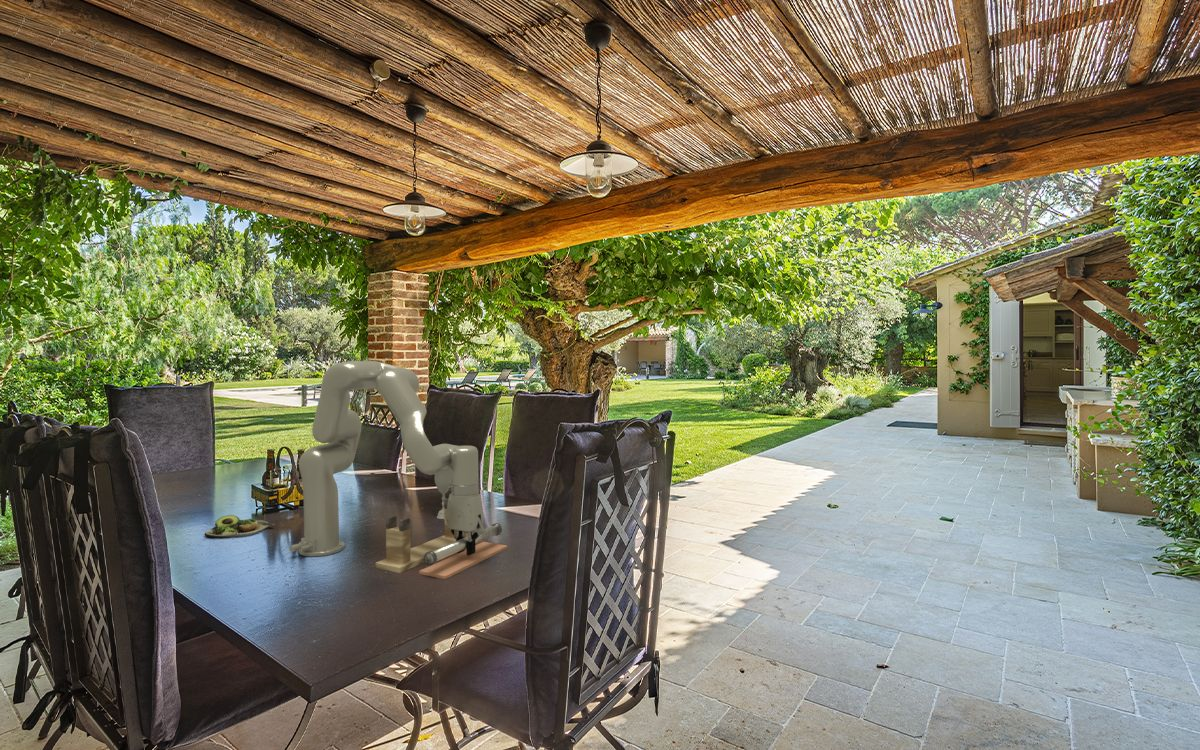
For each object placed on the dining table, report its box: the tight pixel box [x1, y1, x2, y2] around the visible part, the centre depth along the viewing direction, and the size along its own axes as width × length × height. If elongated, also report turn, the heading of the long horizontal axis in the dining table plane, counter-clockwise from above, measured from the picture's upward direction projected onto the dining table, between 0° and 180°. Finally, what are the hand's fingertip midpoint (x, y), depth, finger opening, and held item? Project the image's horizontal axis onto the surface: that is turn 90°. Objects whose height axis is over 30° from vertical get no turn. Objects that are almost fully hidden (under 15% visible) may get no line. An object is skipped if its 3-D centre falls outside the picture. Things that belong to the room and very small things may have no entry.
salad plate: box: [204, 514, 276, 539], centre depth 203 cm, size 19×18×5 cm
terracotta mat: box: [418, 541, 509, 580], centre depth 173 cm, size 28×9×1 cm, turn 153°
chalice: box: [434, 469, 452, 520], centre depth 218 cm, size 7×7×18 cm
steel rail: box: [424, 522, 503, 567], centre depth 173 cm, size 30×4×4 cm, turn 153°
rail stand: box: [375, 497, 468, 574], centre depth 179 cm, size 32×9×14 cm, turn 153°
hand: (465, 552), depth 173 cm, fingers closed on steel rail, 3 cm apart
